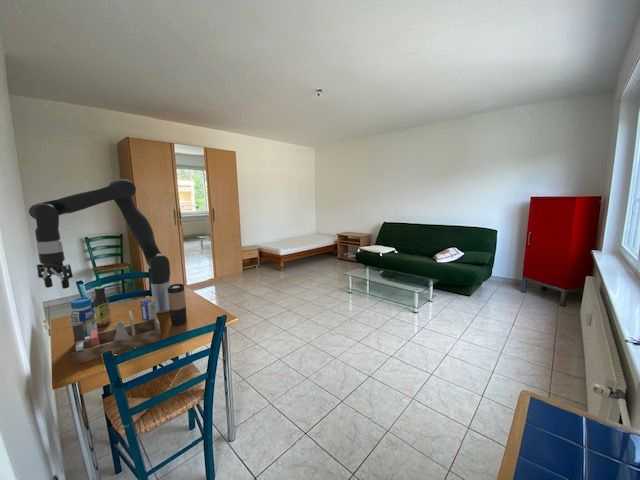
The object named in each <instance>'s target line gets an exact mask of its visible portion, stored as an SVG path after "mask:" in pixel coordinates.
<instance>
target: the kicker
mask: <svg viewBox="0 0 640 480" xmlns="http://www.w3.org/2000/svg"><path fill="white" fill-rule="evenodd" d="M71 327H72V333H73V340H74V339H75V341H74V343H75V342H77V343H76V347H75V352H76V351H79V350H83V349H84V348H83V346H84V342H87V341H90V340H91V345H92V346H91V347H94V346H98V345H101V344H99V337H98V333H99V331H98V328H97V329H95V330H91V336H88V337H85V333H84V327H83V321H82V322H78V323H73V325H72V326H71Z"/></svg>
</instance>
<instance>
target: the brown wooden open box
mask: <svg viewBox="0 0 640 480" xmlns="http://www.w3.org/2000/svg"><path fill="white" fill-rule="evenodd" d="M128 314H129V323H130V324H127V325H124V328H125V330H126V332H127V333H128V335H129V336H130V337H127V338H124V339H120V340H116V341H114V338H115V334H116V327H115V328H111V329H108V330H104V331H98V337H99V344H100V345H98V346H94V347H92V345H91V340H90V341H87V342H84V346H83V350H79V351H76V350H75V351H73V352H71V354H70V355H71V361H72V366H76V365H79V364H82V363H85V362H89V361H93V360H96V359H99V358H103V357H102V356H101V354H102V353H103V352H105V351H108V350H111V349H113V350H114V353H113V354H115V353H116V354H117V353H119V352H122V351H127V350H130V349H133V348H137V347H141V346H143V345H147V344H151V343H154V342H158V341H160V340H162V339H163V337H162V332H161V324H160V321H159V318H158V316H157V315H158V314H157V313H155V314H153V316H154V319H151V320H147V321H143V320H142V321H140V322H135V321H134V317H133V311H132V310H129V311H128ZM156 314H157V315H156ZM88 336H91V335H87V336H85V337H88ZM73 340H74V346H75V348H76V343H77V342H75V339H74V338H73Z"/></svg>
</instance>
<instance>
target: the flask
mask: <svg viewBox="0 0 640 480" xmlns="http://www.w3.org/2000/svg"><path fill="white" fill-rule="evenodd" d="M124 326H125V321H119V322H115V323H114V327H115V328H116V334H115V338H114V340H113V341H116V340H120V339H124V338H127V337H131V335H130V336H129V335H128V333H127V332H126V330H125V328H124Z"/></svg>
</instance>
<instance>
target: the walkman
mask: <svg viewBox="0 0 640 480" xmlns="http://www.w3.org/2000/svg"><path fill="white" fill-rule="evenodd" d="M139 303H140V311H141V318H142V322H143V321H147V320H151V319H154V316H153V314H155V313H156V307H155V301H153V300H151V299H145V298H144V299H143V300H139ZM156 315H158V313H156Z"/></svg>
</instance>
